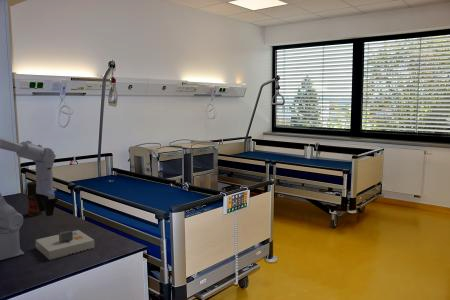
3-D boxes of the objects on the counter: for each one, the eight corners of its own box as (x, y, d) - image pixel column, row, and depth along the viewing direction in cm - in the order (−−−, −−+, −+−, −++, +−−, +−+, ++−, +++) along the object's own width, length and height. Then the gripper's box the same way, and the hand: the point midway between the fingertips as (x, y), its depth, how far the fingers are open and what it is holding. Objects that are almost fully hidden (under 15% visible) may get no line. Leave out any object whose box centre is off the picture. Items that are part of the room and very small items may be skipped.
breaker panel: (49, 259, 128) (49, 251, 127) (35, 247, 138) (35, 239, 137) (94, 247, 139) (94, 239, 138) (78, 237, 149) (78, 229, 148)
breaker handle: (61, 242, 135) (61, 234, 135) (59, 240, 137) (58, 232, 136) (72, 239, 138) (72, 231, 137) (70, 237, 140) (69, 230, 139)
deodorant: (25, 214, 175) (23, 183, 173) (37, 211, 181) (35, 180, 179) (33, 216, 173) (32, 184, 171) (45, 213, 178) (43, 182, 176)
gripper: (62, 180, 141) (63, 215, 142) (48, 174, 151) (50, 207, 153) (42, 183, 136) (44, 219, 138) (29, 176, 146) (31, 210, 148)
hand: (46, 213), depth 145 cm, fingers open, 7 cm apart
